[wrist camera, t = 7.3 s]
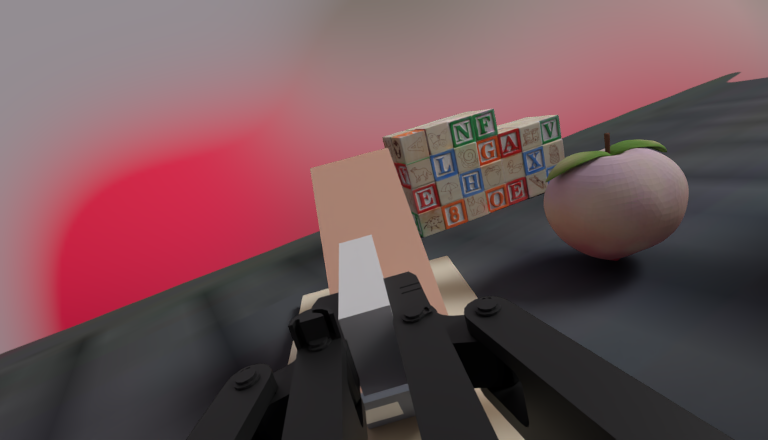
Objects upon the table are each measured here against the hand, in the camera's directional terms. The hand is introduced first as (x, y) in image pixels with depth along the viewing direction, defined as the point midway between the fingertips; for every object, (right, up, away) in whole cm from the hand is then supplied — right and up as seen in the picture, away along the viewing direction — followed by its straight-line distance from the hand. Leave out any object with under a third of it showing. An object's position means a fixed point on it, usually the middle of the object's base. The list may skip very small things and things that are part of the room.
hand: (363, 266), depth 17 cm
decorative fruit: (+19, -1, +12) cm, 23 cm away
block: (+2, -6, 0) cm, 7 cm away
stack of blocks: (+14, +4, +33) cm, 36 cm away
